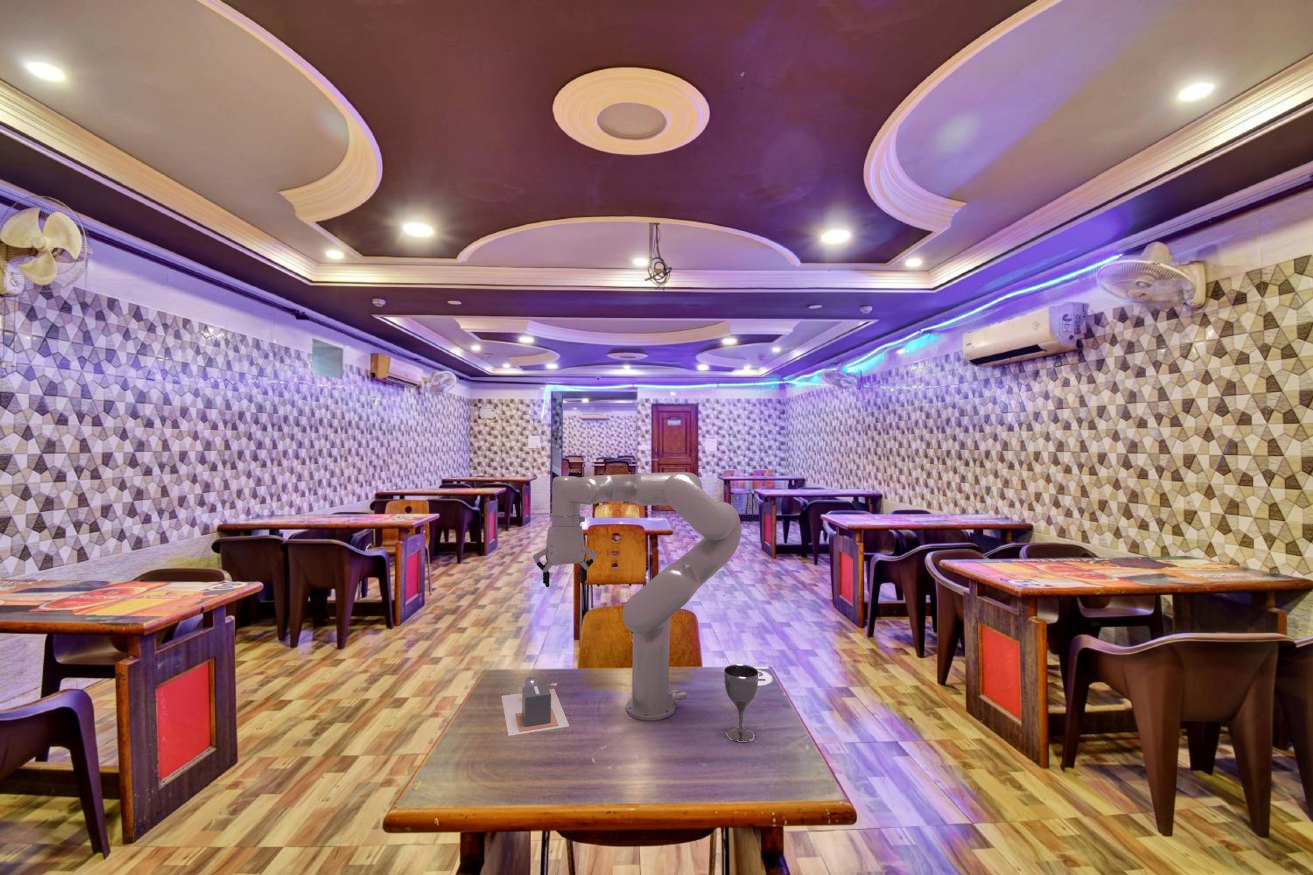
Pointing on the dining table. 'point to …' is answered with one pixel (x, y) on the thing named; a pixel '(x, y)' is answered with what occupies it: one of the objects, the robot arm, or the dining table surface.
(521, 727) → the board
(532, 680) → the post
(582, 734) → the dining table surface
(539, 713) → the dark grey block
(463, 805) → the dining table surface
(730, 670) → the wine glass
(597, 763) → the dining table surface
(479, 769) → the dining table surface
